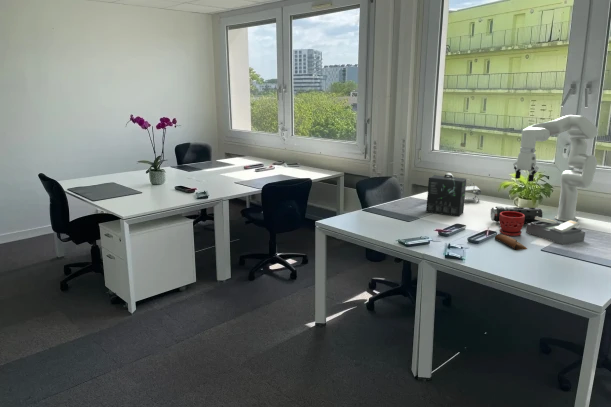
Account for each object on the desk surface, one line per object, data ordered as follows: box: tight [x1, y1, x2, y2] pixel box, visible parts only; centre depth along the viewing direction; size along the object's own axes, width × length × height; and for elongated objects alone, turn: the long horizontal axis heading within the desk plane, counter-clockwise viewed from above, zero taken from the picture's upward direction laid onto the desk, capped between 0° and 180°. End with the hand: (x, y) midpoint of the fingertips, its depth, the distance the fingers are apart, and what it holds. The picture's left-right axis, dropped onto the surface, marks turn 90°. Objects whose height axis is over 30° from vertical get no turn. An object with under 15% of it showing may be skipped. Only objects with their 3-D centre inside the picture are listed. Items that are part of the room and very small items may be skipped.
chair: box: [445, 172, 482, 204], centre depth 338 cm, size 13×25×20 cm, turn 80°
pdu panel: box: [525, 221, 586, 246], centre depth 255 cm, size 16×28×6 cm, turn 21°
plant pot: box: [498, 211, 525, 237], centre depth 257 cm, size 13×13×12 cm
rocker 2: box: [554, 220, 579, 232], centre depth 246 cm, size 12×5×2 cm, turn 111°
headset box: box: [425, 173, 467, 218], centre depth 302 cm, size 22×12×26 cm, turn 58°
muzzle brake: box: [490, 206, 543, 224], centre depth 279 cm, size 10×28×10 cm, turn 85°
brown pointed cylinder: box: [494, 233, 528, 251], centre depth 241 cm, size 18×7×7 cm
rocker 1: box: [535, 216, 558, 224], centre depth 258 cm, size 12×5×2 cm, turn 112°
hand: (524, 179), depth 263 cm, fingers open, 9 cm apart
